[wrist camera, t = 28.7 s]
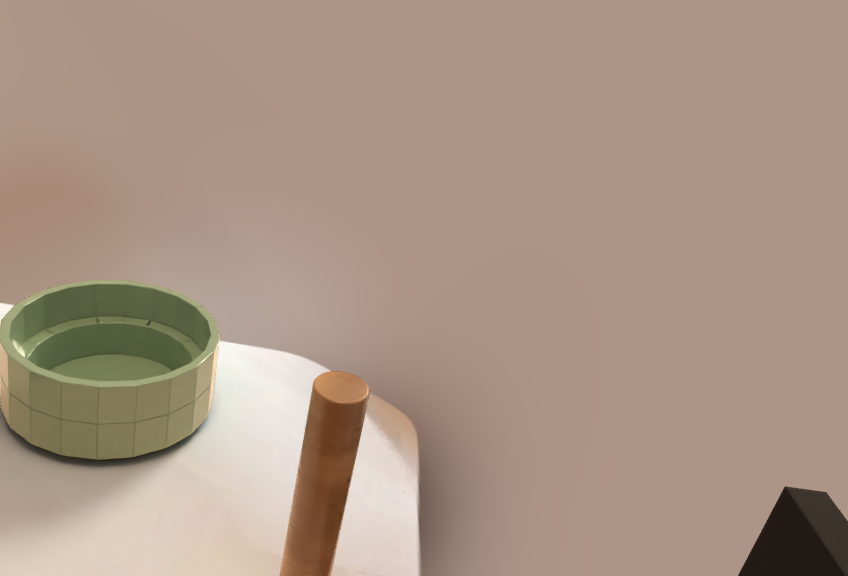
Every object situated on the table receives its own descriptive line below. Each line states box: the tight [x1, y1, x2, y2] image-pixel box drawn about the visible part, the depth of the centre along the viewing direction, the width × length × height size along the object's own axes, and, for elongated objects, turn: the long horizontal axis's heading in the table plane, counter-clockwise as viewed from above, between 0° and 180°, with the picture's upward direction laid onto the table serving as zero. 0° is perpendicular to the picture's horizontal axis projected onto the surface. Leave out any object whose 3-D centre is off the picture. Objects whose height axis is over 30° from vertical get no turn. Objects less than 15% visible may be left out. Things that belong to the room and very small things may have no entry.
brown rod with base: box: [280, 371, 370, 576], centre depth 34 cm, size 5×5×18 cm
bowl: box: [0, 280, 220, 460], centre depth 53 cm, size 13×13×6 cm
